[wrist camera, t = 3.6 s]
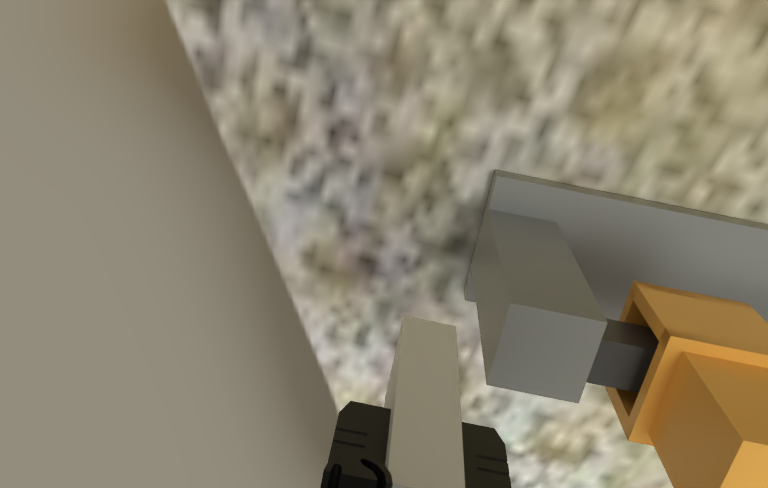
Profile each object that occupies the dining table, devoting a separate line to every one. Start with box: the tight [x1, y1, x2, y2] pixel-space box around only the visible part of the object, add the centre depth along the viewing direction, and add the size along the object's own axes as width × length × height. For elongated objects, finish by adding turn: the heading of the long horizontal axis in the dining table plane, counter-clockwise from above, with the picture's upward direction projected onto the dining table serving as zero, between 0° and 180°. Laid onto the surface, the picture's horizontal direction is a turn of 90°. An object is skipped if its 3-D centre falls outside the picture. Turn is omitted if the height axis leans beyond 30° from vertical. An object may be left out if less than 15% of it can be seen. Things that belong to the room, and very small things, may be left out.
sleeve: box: [605, 281, 768, 488], centre depth 19 cm, size 4×4×8 cm
